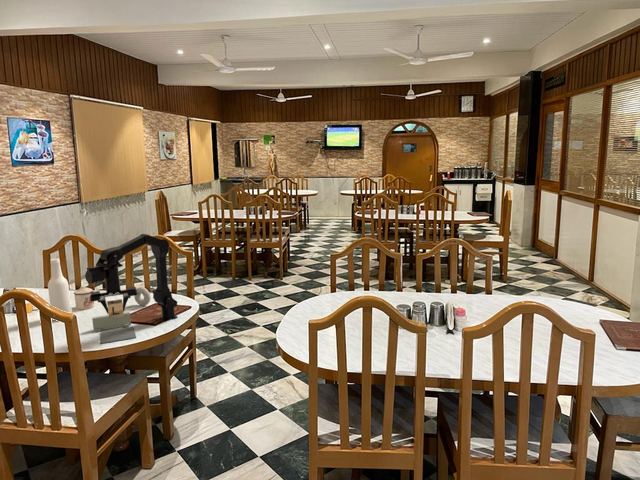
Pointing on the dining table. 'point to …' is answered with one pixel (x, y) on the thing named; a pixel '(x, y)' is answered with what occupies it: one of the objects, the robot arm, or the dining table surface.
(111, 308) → the marked cube
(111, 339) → the charcoal pad
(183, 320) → the dining table surface
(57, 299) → the white bottle
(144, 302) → the donut
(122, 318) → the sage screen
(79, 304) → the teacup with lid
